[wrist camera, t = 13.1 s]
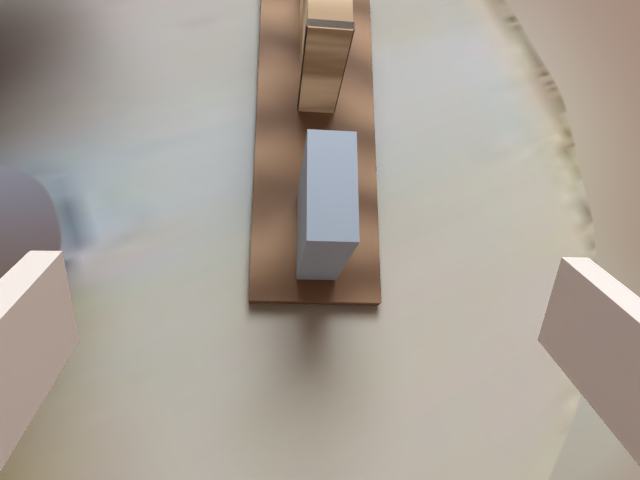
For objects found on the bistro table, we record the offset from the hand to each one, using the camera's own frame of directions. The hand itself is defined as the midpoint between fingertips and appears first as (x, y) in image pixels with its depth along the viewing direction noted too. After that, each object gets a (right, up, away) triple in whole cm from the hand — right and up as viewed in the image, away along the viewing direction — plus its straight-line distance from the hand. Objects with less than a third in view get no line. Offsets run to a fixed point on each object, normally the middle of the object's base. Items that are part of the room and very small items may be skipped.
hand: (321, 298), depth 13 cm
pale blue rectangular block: (0, +2, +25) cm, 25 cm away
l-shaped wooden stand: (0, +10, +29) cm, 30 cm away
